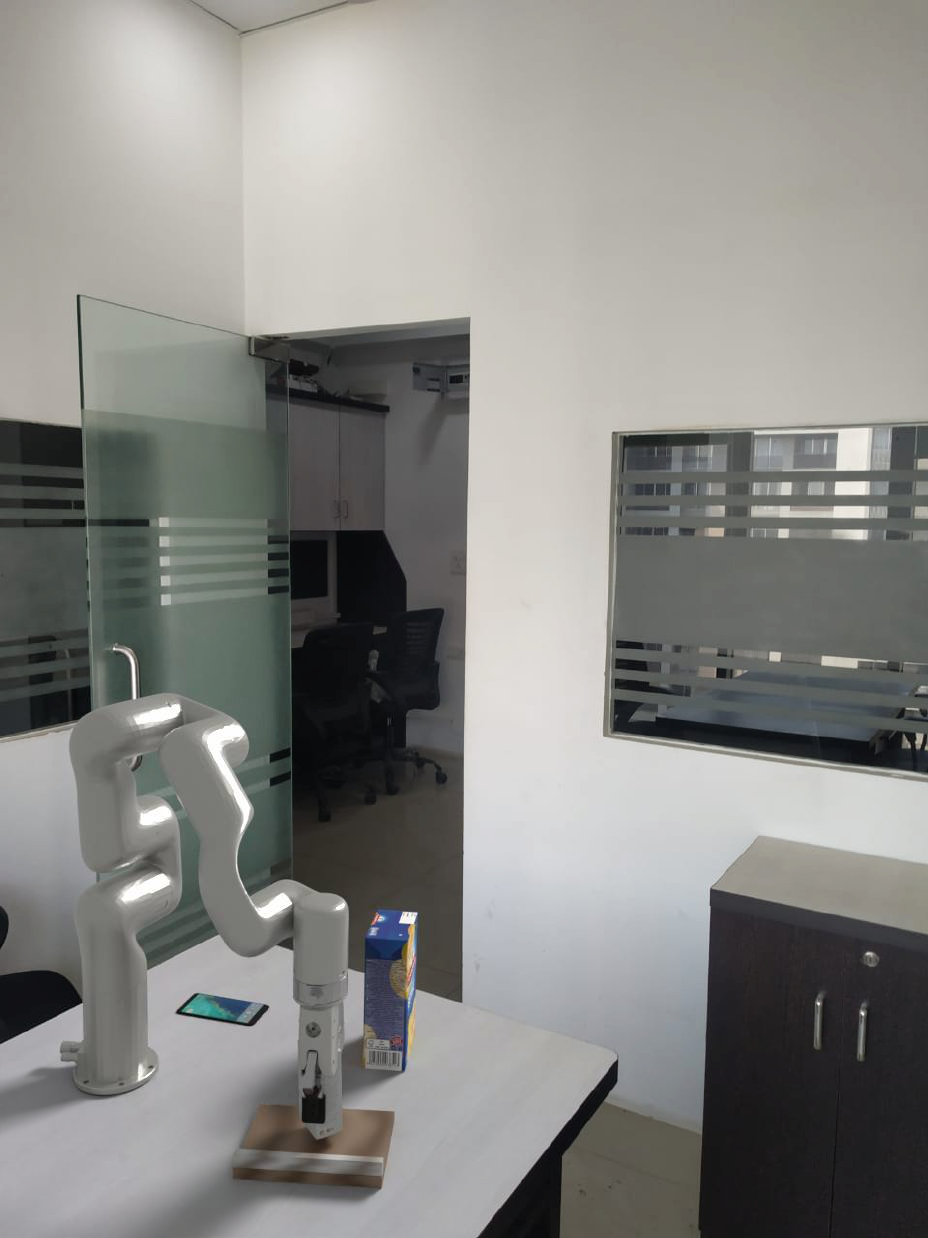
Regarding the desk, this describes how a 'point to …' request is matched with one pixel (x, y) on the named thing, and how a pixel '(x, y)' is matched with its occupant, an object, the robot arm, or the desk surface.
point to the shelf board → (315, 1149)
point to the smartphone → (223, 1009)
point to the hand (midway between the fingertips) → (319, 1103)
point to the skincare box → (327, 1103)
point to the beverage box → (389, 990)
